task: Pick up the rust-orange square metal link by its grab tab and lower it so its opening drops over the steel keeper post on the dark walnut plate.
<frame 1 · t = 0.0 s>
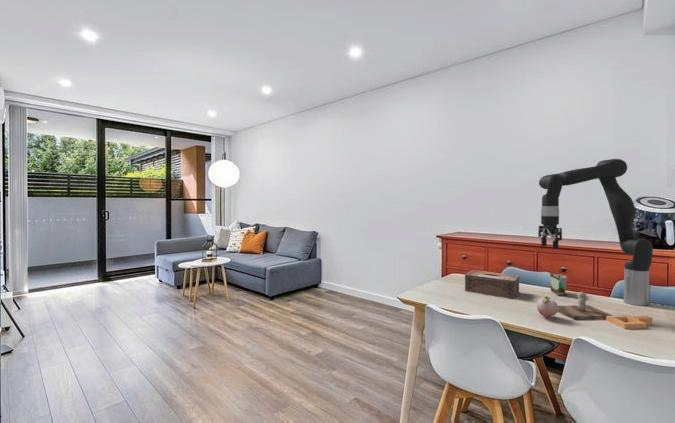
hand: (549, 247, 164), 29 cm above the table, tool pointing down, fingers open, 8 cm apart
food container: (560, 293, 184), on the table
link: (625, 324, 140), on the table
keeper: (581, 313, 153), on the table
tissue box cover: (491, 292, 189), on the table
decorative fruit: (547, 318, 148), on the table
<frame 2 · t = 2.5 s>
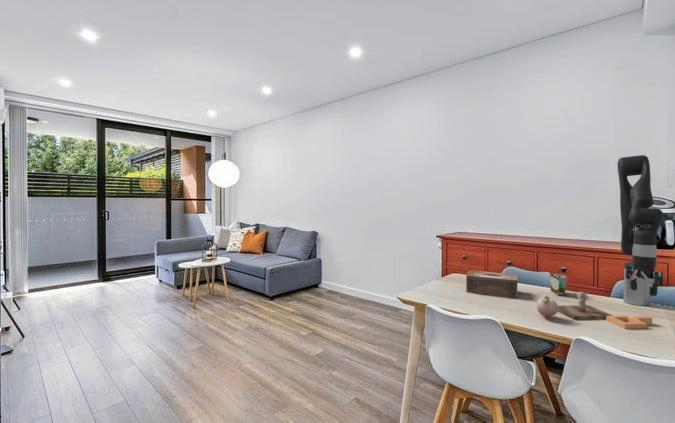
hand: (643, 292, 139), 13 cm above the table, tool pointing down, fingers open, 8 cm apart
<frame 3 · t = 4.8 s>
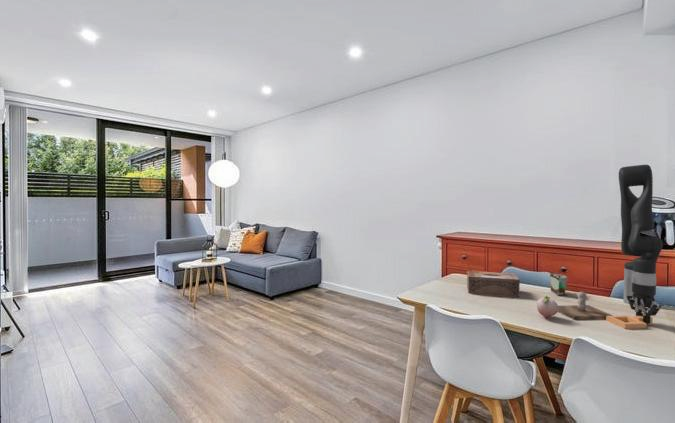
hand: (642, 322, 140), 1 cm above the table, tool pointing down, fingers closed on link, 2 cm apart
link: (625, 324, 140), on the table, touching gripper
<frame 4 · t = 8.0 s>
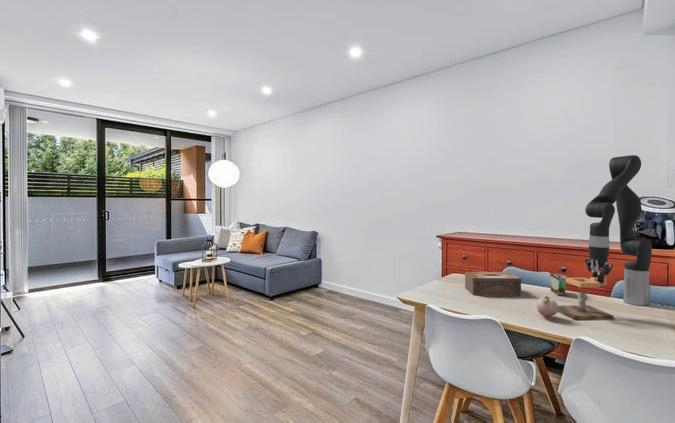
hand: (597, 282, 152), 15 cm above the table, tool pointing down, fingers closed on link, 2 cm apart
link: (582, 284, 152), point 14 cm above the table, touching gripper
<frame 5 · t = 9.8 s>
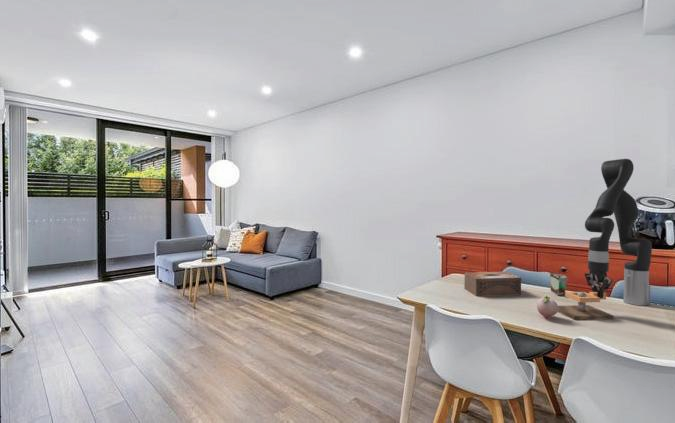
hand: (597, 296, 152), 8 cm above the table, tool pointing down, fingers closed on link, 2 cm apart
link: (582, 299, 152), point 7 cm above the table, touching gripper
when the fingers open (4 cm above the table, at t = 11.3 s): link drops 1 cm, resting on keeper.
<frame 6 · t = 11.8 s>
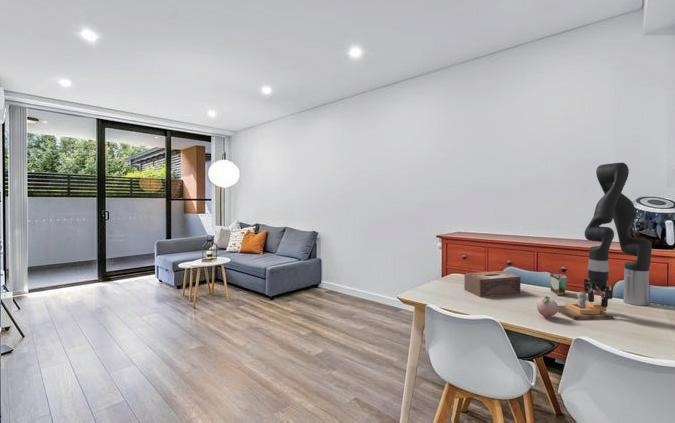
hand: (597, 304, 153), 4 cm above the table, tool pointing down, fingers open, 7 cm apart
link: (582, 310, 153), point 1 cm above the table, touching keeper
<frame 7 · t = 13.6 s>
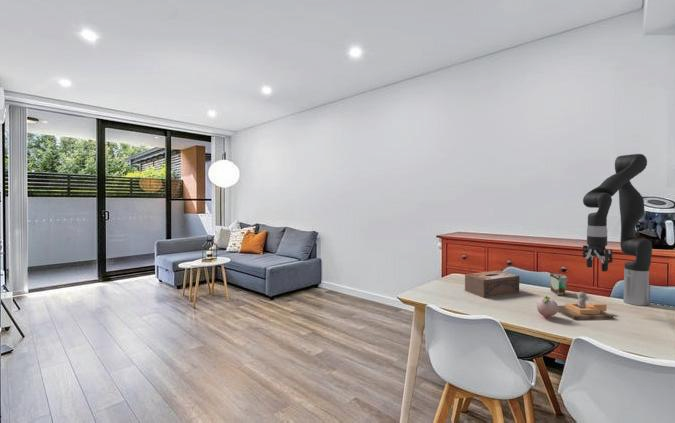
hand: (596, 269, 155), 20 cm above the table, tool pointing down, fingers open, 8 cm apart
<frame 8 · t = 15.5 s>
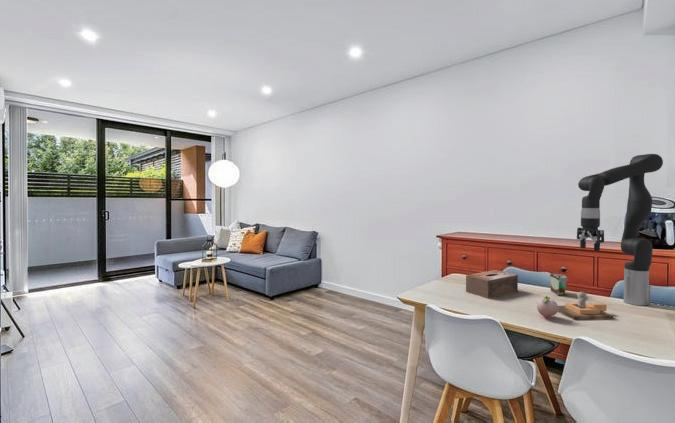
hand: (589, 249, 163), 28 cm above the table, tool pointing down, fingers open, 8 cm apart
at the end: link 0.3 cm off-centre on the keeper, point 1.5 cm above the keeper's base; the gripper is holding nothing; link tilted 0° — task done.
